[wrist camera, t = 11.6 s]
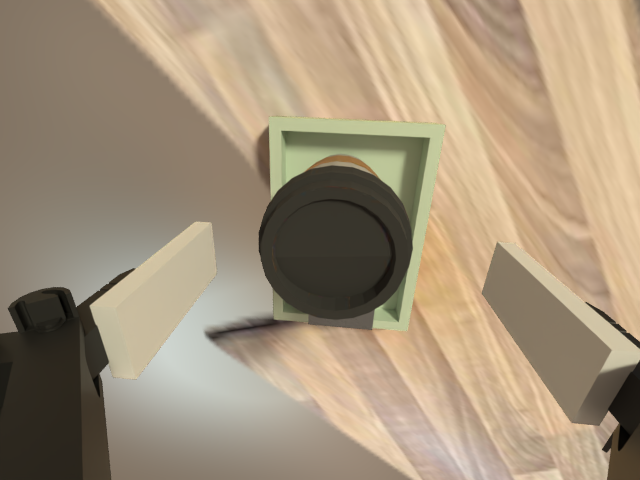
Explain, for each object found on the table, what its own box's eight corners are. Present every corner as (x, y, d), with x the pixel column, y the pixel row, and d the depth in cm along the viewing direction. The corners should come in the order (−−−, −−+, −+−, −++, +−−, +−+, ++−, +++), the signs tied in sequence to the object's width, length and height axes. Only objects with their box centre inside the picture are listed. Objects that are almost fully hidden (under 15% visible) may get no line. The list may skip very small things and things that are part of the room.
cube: (315, 244, 31) (309, 268, 27) (375, 249, 31) (379, 273, 27) (313, 294, 34) (308, 324, 29) (369, 299, 33) (372, 329, 29)
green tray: (276, 116, 28) (268, 116, 25) (436, 123, 27) (445, 124, 24) (279, 303, 36) (273, 319, 33) (402, 313, 35) (407, 331, 32)
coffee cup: (384, 228, 30) (414, 329, 16) (300, 230, 31) (261, 327, 17) (387, 139, 27) (427, 170, 13) (293, 143, 28) (237, 177, 14)
